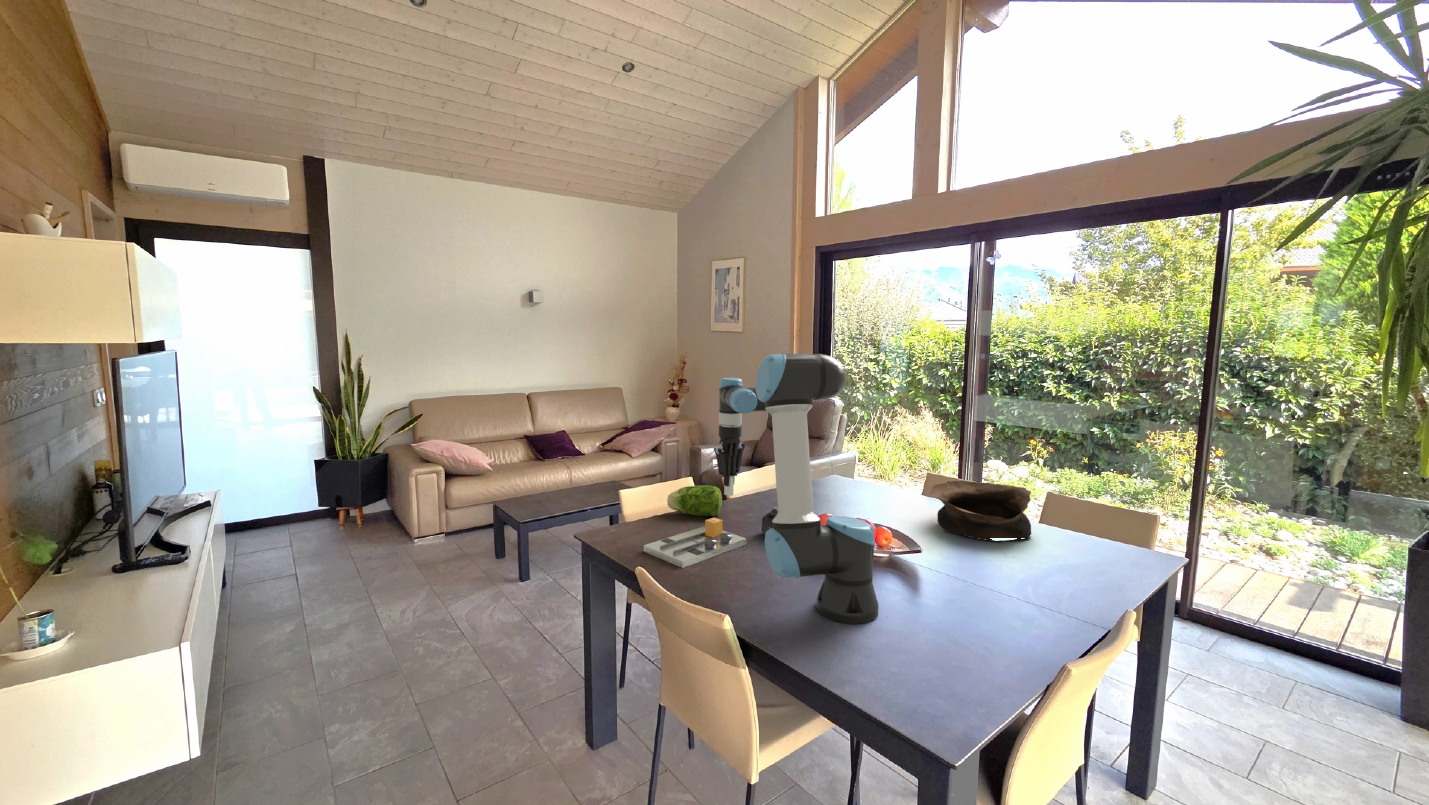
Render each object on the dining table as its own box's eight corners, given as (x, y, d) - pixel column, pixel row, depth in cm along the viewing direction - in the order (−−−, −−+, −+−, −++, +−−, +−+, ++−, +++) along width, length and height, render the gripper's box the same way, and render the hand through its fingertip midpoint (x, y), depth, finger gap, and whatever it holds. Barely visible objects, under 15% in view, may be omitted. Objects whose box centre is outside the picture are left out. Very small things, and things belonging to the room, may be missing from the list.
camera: (804, 536, 206) (805, 508, 204) (791, 545, 197) (792, 515, 196) (769, 529, 213) (770, 501, 212) (755, 537, 204) (756, 508, 203)
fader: (722, 535, 199) (722, 519, 198) (713, 538, 196) (714, 522, 195) (713, 532, 202) (713, 516, 201) (705, 535, 199) (705, 519, 198)
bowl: (1052, 551, 199) (1056, 508, 196) (950, 555, 200) (952, 512, 196) (1003, 511, 233) (1005, 473, 230) (916, 514, 233) (917, 477, 230)
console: (746, 544, 197) (746, 531, 197) (682, 568, 177) (682, 553, 177) (707, 530, 210) (707, 518, 209) (643, 551, 190) (643, 537, 189)
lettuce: (669, 509, 234) (669, 480, 232) (722, 511, 232) (723, 482, 231) (664, 519, 222) (664, 488, 221) (721, 520, 221) (721, 490, 220)
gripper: (735, 421, 207) (733, 488, 210) (708, 425, 197) (706, 496, 201) (751, 424, 201) (750, 493, 205) (724, 428, 192) (723, 501, 195)
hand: (728, 494), depth 203 cm, fingers closed
